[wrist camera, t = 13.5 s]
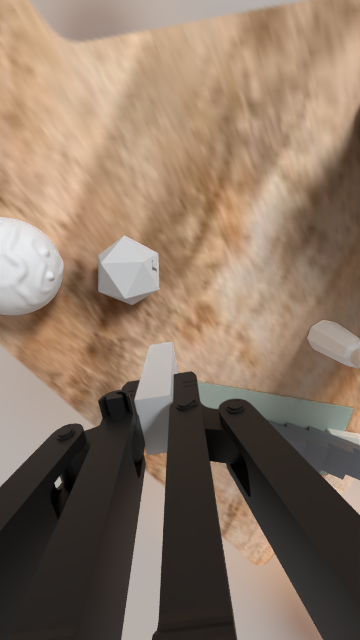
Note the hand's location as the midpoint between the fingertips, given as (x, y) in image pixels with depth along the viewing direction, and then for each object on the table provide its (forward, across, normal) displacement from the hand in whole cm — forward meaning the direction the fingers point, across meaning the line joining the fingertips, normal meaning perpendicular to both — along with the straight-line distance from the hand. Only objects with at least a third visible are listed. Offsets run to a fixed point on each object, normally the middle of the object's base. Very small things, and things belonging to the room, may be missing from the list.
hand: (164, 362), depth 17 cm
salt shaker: (+25, +23, -10) cm, 35 cm away
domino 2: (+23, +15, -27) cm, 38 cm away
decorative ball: (+25, -19, +8) cm, 32 cm away
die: (+25, -5, +5) cm, 26 cm away
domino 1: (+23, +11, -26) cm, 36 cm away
